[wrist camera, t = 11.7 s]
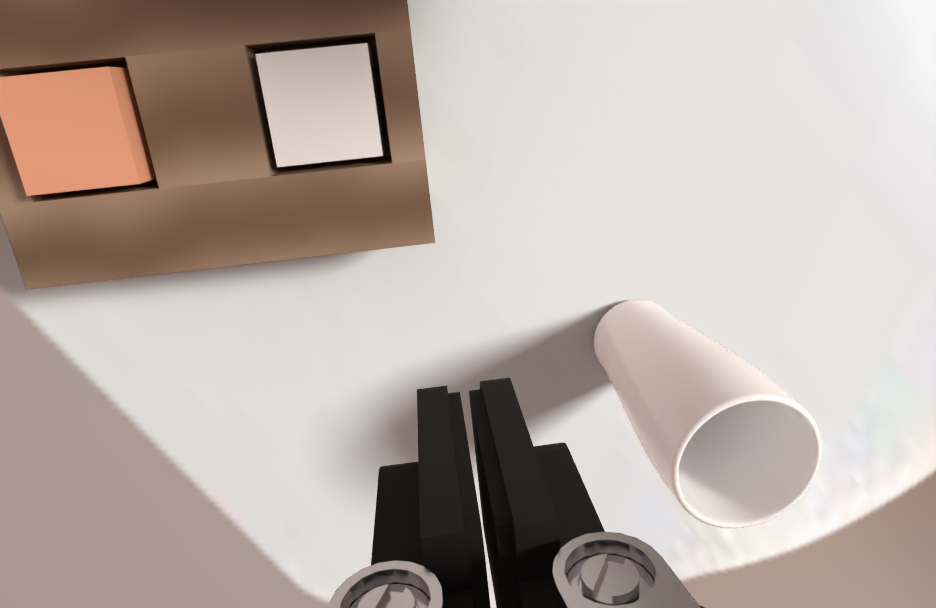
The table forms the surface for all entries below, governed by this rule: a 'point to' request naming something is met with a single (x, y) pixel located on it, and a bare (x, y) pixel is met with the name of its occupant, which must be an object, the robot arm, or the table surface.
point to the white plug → (322, 104)
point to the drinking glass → (707, 418)
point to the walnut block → (213, 140)
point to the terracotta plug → (75, 130)
